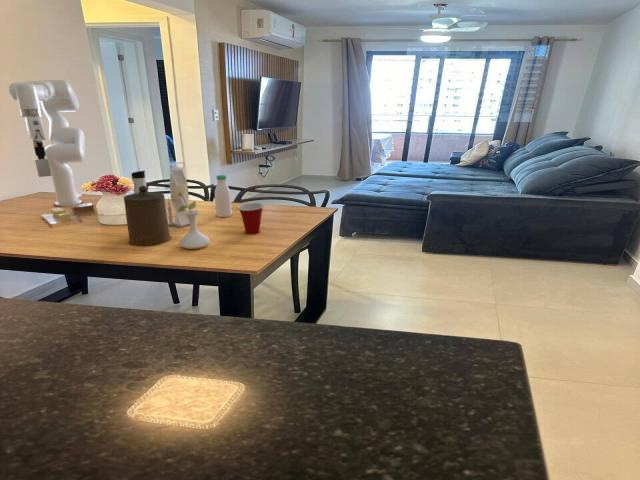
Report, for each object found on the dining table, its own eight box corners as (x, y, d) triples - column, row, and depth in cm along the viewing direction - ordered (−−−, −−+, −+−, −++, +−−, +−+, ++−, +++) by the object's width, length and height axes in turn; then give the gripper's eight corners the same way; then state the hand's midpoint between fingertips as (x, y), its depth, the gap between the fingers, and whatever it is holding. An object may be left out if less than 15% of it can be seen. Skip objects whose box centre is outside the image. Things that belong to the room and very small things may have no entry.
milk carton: (183, 221, 180) (177, 161, 171) (195, 223, 177) (189, 162, 167) (168, 225, 174) (161, 163, 164) (180, 228, 170) (173, 164, 161)
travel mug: (146, 210, 197) (141, 172, 191) (134, 210, 197) (128, 171, 191) (152, 207, 203) (147, 170, 196) (139, 207, 203) (134, 169, 197)
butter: (52, 214, 181) (51, 208, 180) (62, 213, 184) (61, 207, 183) (56, 217, 177) (55, 211, 176) (66, 216, 179) (65, 210, 178)
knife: (39, 177, 175) (31, 143, 170) (38, 176, 176) (30, 143, 171) (52, 176, 178) (45, 143, 173) (51, 175, 179) (44, 142, 175)
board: (41, 218, 181) (41, 215, 181) (70, 213, 189) (70, 210, 189) (51, 227, 168) (50, 224, 168) (82, 222, 176) (81, 219, 176)
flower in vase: (200, 239, 156) (194, 178, 147) (216, 246, 149) (211, 182, 140) (170, 247, 146) (162, 183, 138) (185, 255, 139) (178, 187, 131)
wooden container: (161, 232, 164) (155, 181, 157) (175, 240, 154) (169, 186, 147) (125, 238, 155) (116, 185, 148) (136, 248, 144) (128, 191, 137)
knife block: (72, 215, 186) (70, 205, 184) (92, 212, 192) (90, 203, 190) (75, 217, 183) (73, 207, 181) (95, 214, 189) (93, 204, 187)
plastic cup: (237, 229, 169) (235, 203, 165) (261, 227, 173) (260, 201, 169) (241, 237, 160) (240, 209, 156) (267, 234, 163) (266, 207, 159)
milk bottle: (233, 216, 189) (230, 176, 182) (217, 218, 186) (214, 177, 180) (230, 212, 196) (228, 174, 189) (215, 214, 193) (212, 174, 186)
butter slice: (59, 220, 173) (58, 214, 172) (69, 219, 175) (68, 212, 174) (60, 221, 171) (59, 215, 170) (71, 220, 174) (69, 213, 173)
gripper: (45, 113, 165) (54, 157, 171) (38, 113, 176) (46, 153, 182) (24, 113, 160) (34, 158, 166) (17, 113, 171) (27, 154, 177)
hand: (40, 155), depth 174 cm, fingers closed on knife, 1 cm apart
